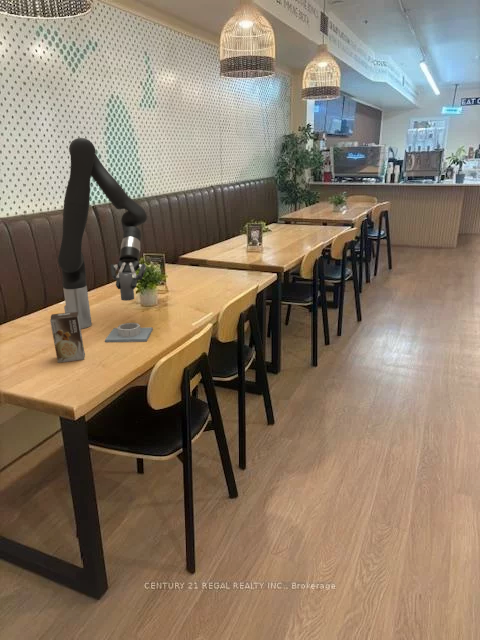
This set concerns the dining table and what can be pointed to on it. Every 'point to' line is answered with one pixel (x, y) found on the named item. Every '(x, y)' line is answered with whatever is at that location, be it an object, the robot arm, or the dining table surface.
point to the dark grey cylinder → (126, 286)
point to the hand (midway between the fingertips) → (125, 288)
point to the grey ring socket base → (129, 333)
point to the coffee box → (67, 337)
